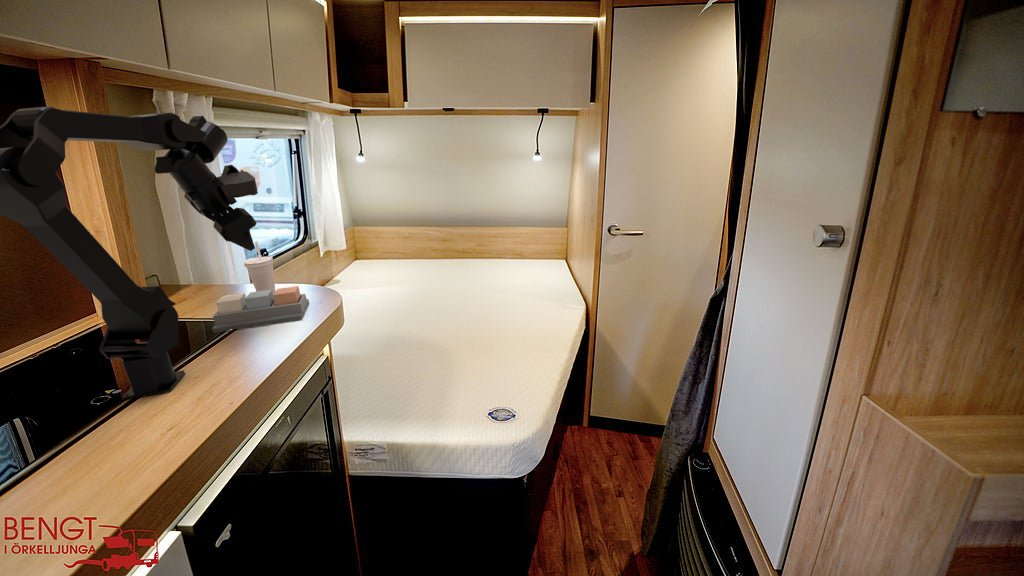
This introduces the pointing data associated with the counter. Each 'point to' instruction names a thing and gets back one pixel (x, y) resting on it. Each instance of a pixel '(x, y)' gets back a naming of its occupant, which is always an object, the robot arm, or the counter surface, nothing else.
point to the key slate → (259, 299)
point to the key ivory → (231, 303)
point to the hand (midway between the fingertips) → (242, 239)
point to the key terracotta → (287, 295)
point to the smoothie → (261, 272)
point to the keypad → (260, 316)
